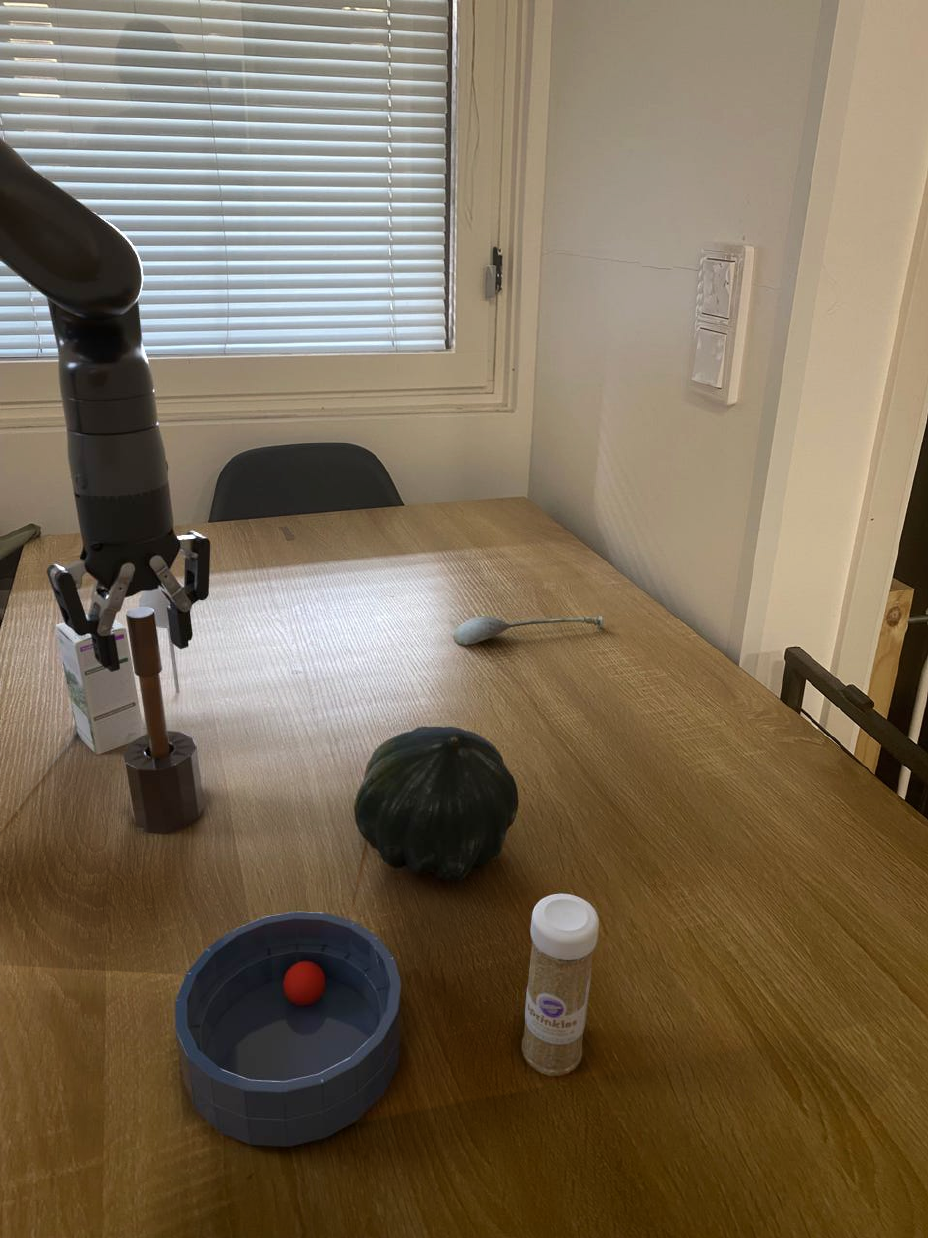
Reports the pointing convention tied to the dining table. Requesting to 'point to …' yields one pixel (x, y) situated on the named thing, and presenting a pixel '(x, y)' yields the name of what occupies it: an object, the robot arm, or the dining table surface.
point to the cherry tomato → (304, 983)
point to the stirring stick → (149, 676)
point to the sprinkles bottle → (558, 982)
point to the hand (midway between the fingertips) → (146, 655)
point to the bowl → (289, 1029)
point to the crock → (164, 784)
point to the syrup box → (100, 691)
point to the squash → (437, 802)
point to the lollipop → (161, 619)
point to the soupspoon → (502, 627)
